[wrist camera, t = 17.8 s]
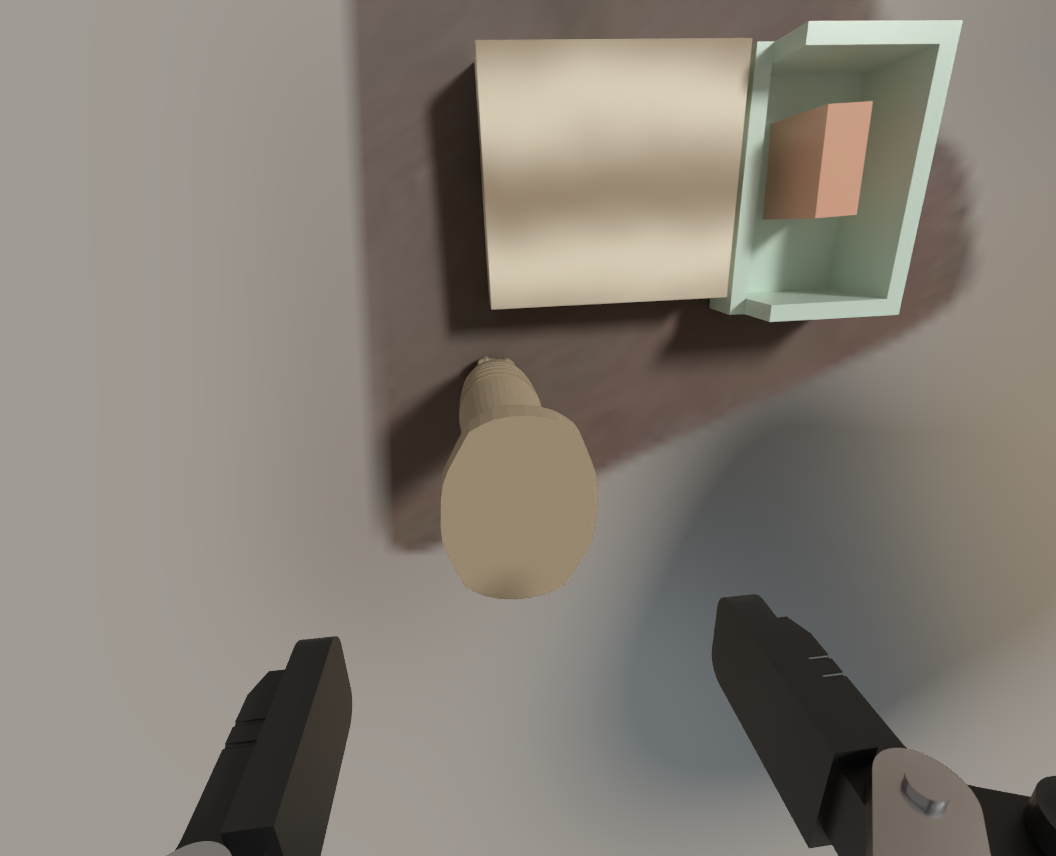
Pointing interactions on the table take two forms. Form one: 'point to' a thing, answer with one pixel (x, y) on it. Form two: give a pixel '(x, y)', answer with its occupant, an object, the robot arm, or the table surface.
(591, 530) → the handle
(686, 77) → the cream flat slab
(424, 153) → the table surface
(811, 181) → the tile
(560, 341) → the table surface
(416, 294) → the table surface
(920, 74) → the box
